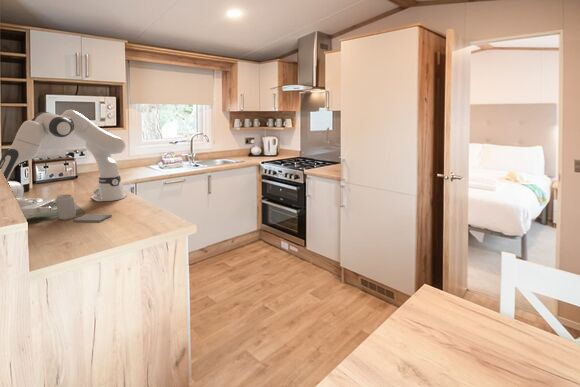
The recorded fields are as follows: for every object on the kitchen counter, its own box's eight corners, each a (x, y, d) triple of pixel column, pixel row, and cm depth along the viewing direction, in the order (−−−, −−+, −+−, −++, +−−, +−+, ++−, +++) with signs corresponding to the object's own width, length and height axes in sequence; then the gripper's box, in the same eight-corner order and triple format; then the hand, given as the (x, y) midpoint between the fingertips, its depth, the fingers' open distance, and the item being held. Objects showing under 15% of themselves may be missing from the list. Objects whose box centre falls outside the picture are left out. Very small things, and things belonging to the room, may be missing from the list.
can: (59, 221, 177) (55, 197, 174) (58, 217, 183) (54, 195, 180) (77, 218, 181) (73, 195, 178) (75, 215, 187) (71, 193, 184)
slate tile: (73, 221, 175) (73, 219, 175) (86, 216, 185) (86, 214, 185) (99, 222, 174) (99, 220, 174) (112, 216, 184) (111, 214, 183)
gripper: (11, 206, 169) (41, 205, 170) (38, 196, 189) (65, 195, 189) (14, 219, 170) (44, 218, 171) (40, 208, 190) (67, 207, 191)
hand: (55, 206), depth 180 cm, fingers open, 8 cm apart
